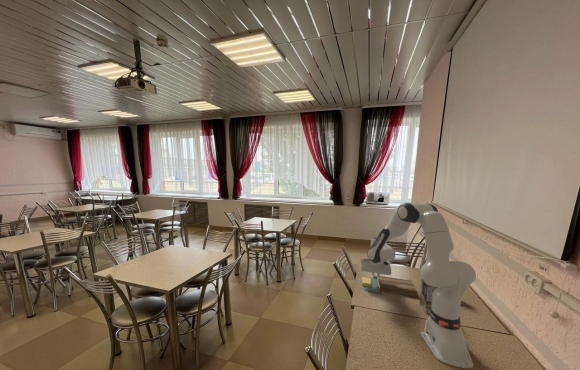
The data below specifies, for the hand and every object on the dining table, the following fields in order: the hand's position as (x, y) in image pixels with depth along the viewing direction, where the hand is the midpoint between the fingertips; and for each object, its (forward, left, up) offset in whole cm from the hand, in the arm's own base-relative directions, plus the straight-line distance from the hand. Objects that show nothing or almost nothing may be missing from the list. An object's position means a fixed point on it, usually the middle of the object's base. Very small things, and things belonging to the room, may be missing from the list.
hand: (375, 278), depth 156 cm
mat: (0, +2, -5) cm, 5 cm away
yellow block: (0, +6, -2) cm, 6 cm away
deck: (0, -14, -5) cm, 15 cm away
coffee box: (-19, -28, -5) cm, 34 cm away
